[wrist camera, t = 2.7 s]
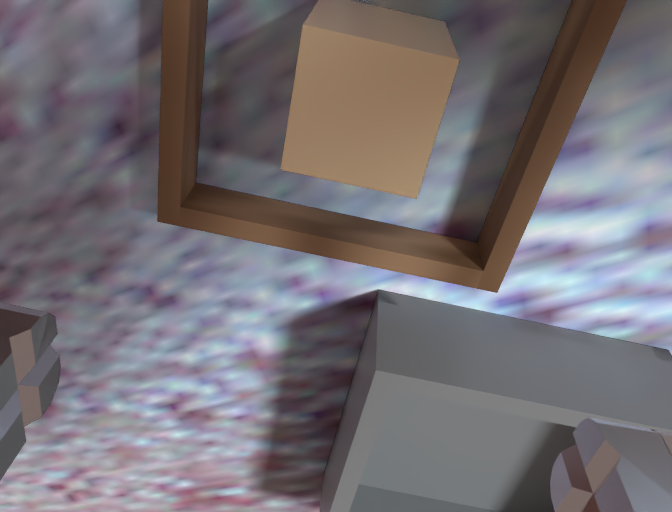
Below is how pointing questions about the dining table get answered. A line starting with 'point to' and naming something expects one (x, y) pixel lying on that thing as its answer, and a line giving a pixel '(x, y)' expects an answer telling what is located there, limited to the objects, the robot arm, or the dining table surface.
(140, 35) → the dining table surface
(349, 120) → the tan block
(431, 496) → the bin
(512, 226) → the frame
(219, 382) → the dining table surface
